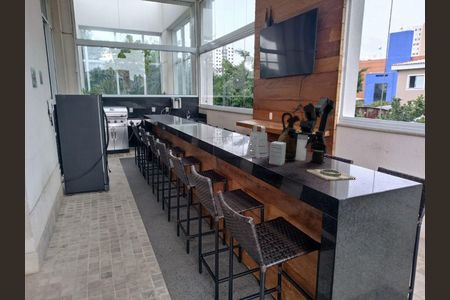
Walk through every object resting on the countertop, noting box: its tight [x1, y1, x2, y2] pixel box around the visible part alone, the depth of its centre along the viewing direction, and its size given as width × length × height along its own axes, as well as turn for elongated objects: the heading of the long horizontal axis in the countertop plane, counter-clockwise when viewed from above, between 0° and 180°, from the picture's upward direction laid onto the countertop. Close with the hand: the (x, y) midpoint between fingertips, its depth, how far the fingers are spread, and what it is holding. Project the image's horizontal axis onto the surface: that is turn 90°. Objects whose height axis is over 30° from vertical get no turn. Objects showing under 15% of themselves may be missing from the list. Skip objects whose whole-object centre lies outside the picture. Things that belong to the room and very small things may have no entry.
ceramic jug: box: [276, 111, 301, 161], centre depth 175 cm, size 17×15×30 cm
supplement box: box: [268, 140, 286, 166], centre depth 161 cm, size 7×7×13 cm
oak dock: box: [306, 168, 356, 182], centre depth 142 cm, size 17×17×2 cm
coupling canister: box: [295, 134, 309, 162], centre depth 143 cm, size 5×5×13 cm
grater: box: [245, 124, 269, 159], centre depth 180 cm, size 10×10×20 cm
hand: (300, 147), depth 142 cm, fingers closed on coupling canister, 5 cm apart
